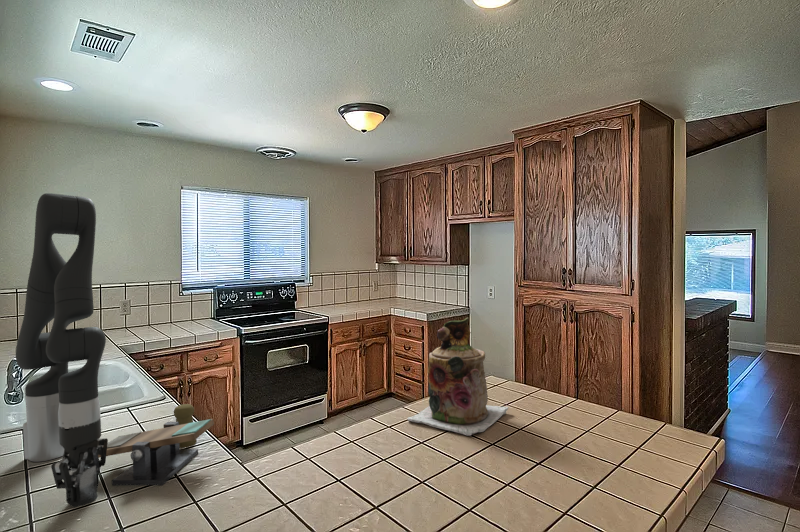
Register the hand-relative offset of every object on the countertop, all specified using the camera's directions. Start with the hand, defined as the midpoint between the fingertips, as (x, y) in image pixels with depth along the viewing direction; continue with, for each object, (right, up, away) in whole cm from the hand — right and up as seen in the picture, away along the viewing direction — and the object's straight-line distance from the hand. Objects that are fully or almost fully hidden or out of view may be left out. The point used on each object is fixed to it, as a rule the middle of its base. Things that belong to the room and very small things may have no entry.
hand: (83, 496), depth 101 cm
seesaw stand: (+9, 0, +15) cm, 17 cm away
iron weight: (0, -1, 0) cm, 1 cm away
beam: (+9, +7, +14) cm, 18 cm away
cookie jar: (+88, +2, +45) cm, 99 cm away
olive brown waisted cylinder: (+8, 0, +30) cm, 31 cm away
